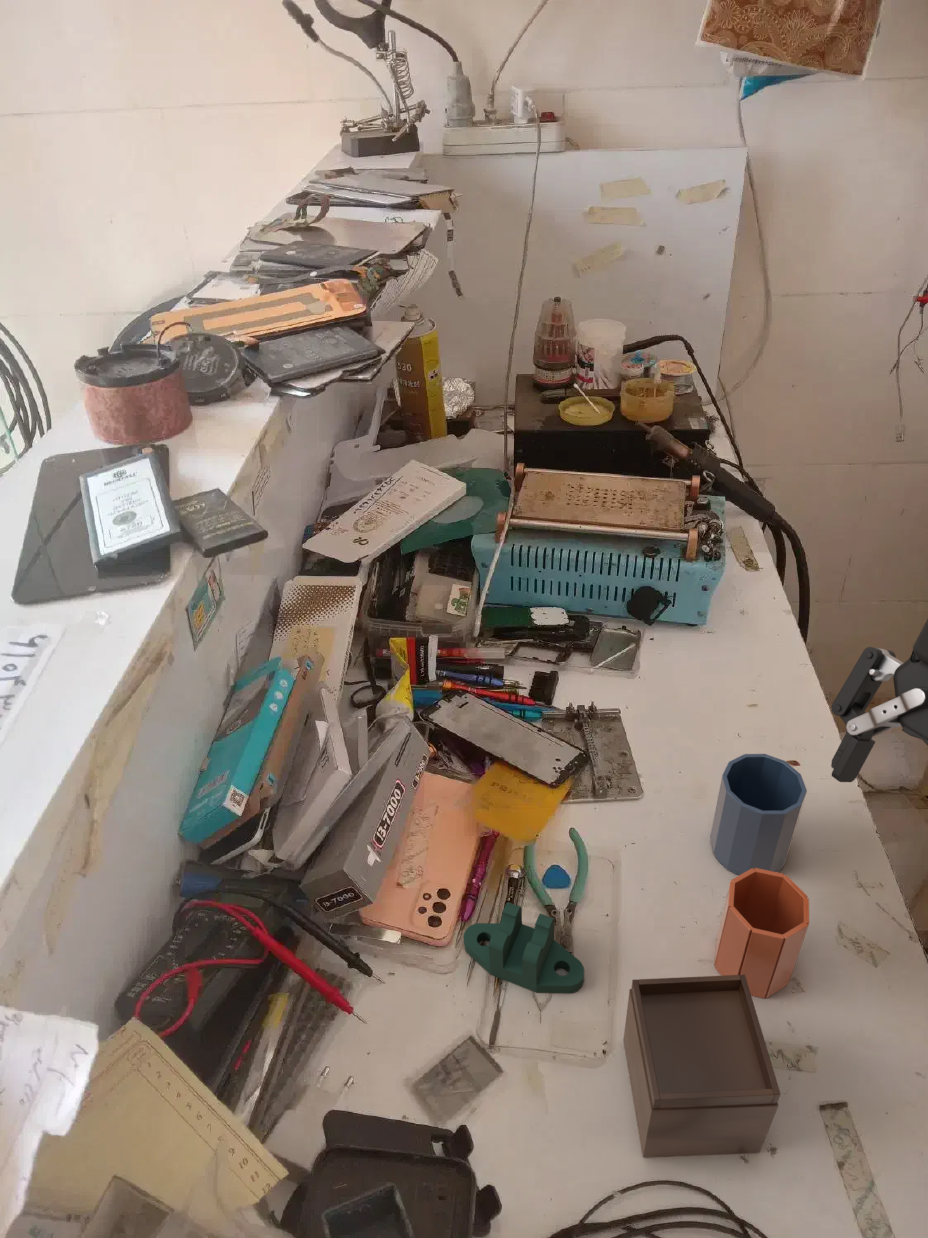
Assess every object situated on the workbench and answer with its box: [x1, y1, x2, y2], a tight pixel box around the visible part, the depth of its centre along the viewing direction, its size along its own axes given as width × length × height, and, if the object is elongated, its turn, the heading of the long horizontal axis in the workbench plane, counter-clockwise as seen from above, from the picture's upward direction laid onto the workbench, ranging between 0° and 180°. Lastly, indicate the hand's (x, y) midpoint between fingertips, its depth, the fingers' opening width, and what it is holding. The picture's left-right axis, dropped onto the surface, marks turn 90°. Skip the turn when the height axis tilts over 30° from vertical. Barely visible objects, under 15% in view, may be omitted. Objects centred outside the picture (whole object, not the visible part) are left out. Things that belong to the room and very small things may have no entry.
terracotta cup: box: [713, 868, 810, 999], centre depth 68 cm, size 6×6×9 cm
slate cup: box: [709, 753, 808, 876], centre depth 77 cm, size 7×7×10 cm
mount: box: [463, 901, 585, 994], centre depth 70 cm, size 11×4×5 cm, turn 66°
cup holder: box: [623, 975, 781, 1158], centre depth 60 cm, size 8×8×10 cm
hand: (888, 813), depth 60 cm, fingers open, 8 cm apart
